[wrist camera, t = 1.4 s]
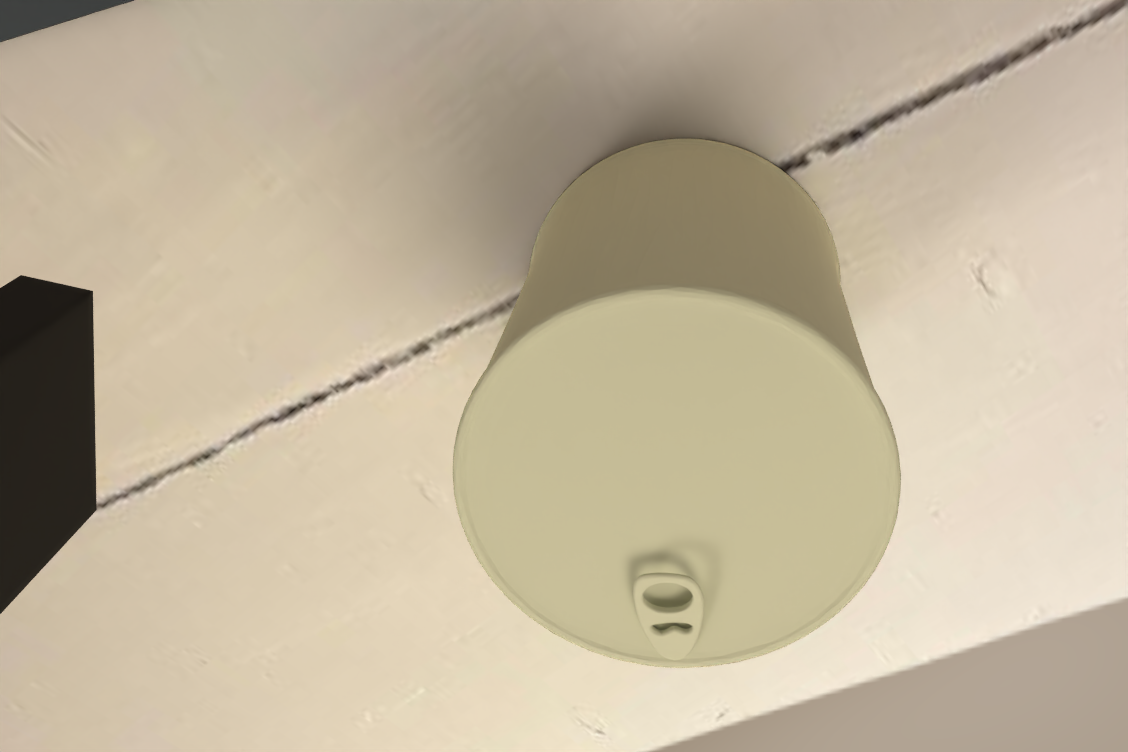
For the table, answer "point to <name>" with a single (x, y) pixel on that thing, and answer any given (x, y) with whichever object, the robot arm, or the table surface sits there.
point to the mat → (45, 14)
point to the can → (679, 418)
